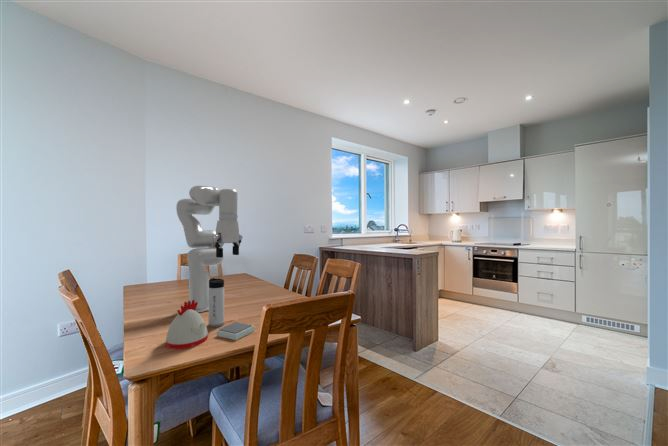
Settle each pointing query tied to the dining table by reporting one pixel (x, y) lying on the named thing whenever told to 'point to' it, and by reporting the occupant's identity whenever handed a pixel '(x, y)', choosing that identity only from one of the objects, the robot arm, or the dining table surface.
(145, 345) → the dining table surface
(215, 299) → the travel mug
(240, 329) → the stand
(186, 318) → the kitchen timer
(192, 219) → the robot arm
